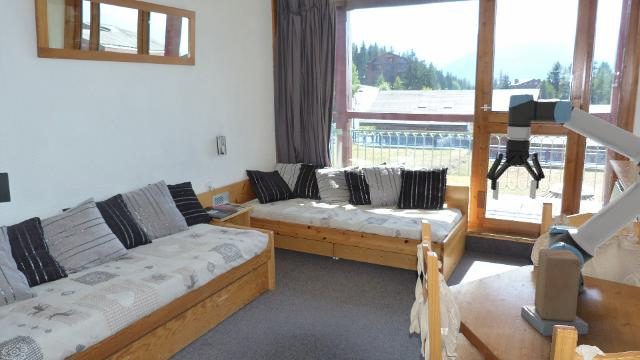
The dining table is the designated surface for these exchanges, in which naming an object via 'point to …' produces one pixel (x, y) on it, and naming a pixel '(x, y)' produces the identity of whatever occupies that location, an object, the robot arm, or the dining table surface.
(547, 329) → the slate tray
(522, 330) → the dining table surface
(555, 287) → the wooden block
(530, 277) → the dining table surface
